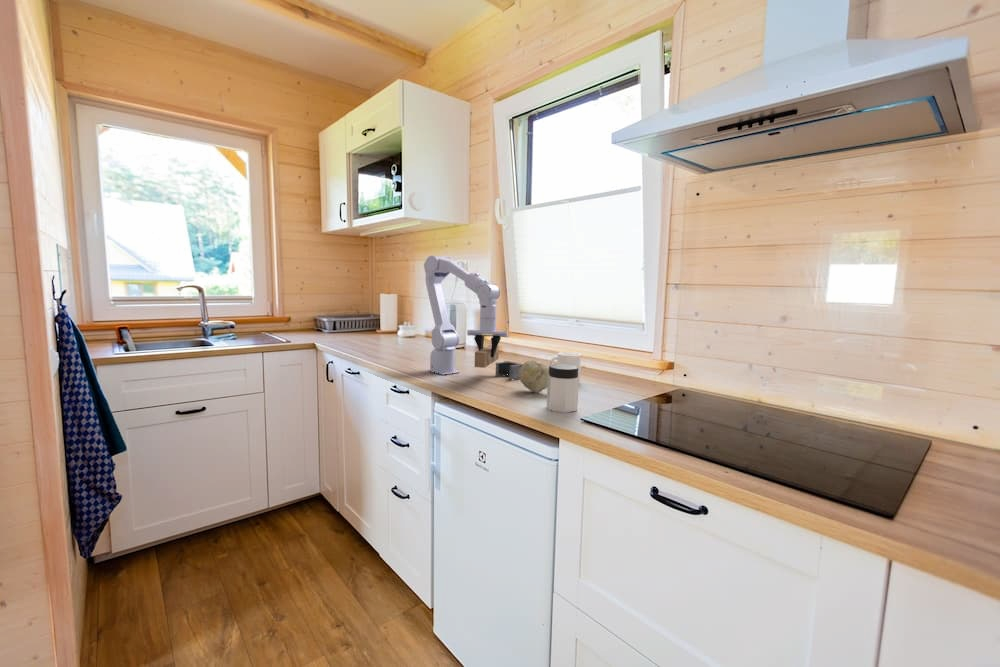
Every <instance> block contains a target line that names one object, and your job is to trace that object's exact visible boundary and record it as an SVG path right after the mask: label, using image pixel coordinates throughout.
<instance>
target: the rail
mask: <svg viewBox="0 0 1000 667" xmlns="http://www.w3.org/2000/svg"><path fill="white" fill-rule="evenodd" d="M491 351H492V344H491V345H487V346H485V347H483V349H481V350H479V349H478V350H476V351H475V352H474V368H480V369H481V368H484V369H486V367H488V366H489V365H491V364H493V363H494V362H496V361H498V360H499V352H500V347H499V345H497V348H496V351H495V356H494V357H491Z"/></svg>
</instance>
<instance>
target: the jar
mask: <svg viewBox="0 0 1000 667" xmlns="http://www.w3.org/2000/svg"><path fill="white" fill-rule="evenodd" d="M579 384H580V381H579V378H578V367H577V366H573V365H567V364H557V363H555V364H554V363H553V365H550V364H549V374H548V387H547V388H546V389H547V391H546V392H547V395H546V407H547V409H548V410H549V411H550V410H552V411H551V412H555V411H558V412H557V413H561V412H564V413H563V414H566V412H568V413H573V412H572V411H574V412H577V411H578V403H579V402H578V401H579V386H580V385H579Z"/></svg>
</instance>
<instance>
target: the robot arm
mask: <svg viewBox="0 0 1000 667" xmlns="http://www.w3.org/2000/svg"><path fill="white" fill-rule="evenodd" d="M423 268H424V273H425V285H426V291H427V294H428V299H429V303H430V307H431V313H432V317H433V321H434V324H435V326H434V327H433V328H432V329H431V332H430V333H431V345H432V347H433V349H432V350H431V352H430V355H429V356H430V362H429V363H430V365H429V366H430V367H429V369H428V372H430V371H431V372H430V373H434V372H435V374H438V373H439V374H438V375H443V376H444V375H445V374H447V375H451V374H452V373H453V374H458V372H459V373H460V371H459V370H457V369H456V370H455V368H456V367H455V366H456V364H455V362H456V358H455V357H456V349H457V346H459V344H460V336H459V333H458V332H457V331H456V327H455V326H454V325H453V324H451V322H450V318H449V315H448V309H447V307H446V306H447V305H446V301H445V296H444V293H443V292H444V291H443V288H442V282H443V281H444V280H445V279H446V278H447V277H448V276H449V275H450V274H452V275H454V276H455V277H457V278H458V279H460V280H462V281H463V282H464V286H465V287H466V288H468V289H469V290H471V291H472V292H473V293H474V294H476V295H477V298H478V301H479V302H478V303H479V306H480V307H479V308H480V309H479V329H468V330H467V331H466V333H467V334H466V336H469V337H470V336H471V337H472V336H473V337H474V339H473V340H474V341H475V343H476V345H477V348H478V351H479V350H481V349H483V348H484V342H485V337H490V341H491V345H492V351H491V357H494V356H495V351H496V348H497V346H499V343H500V341H501V339H502V338H509V331H505V330H497V306H498V304H497V303H498V302H497V300H498V299H499V298H500V295H501V291H500V290H501V289H500V288H499V286H498V285H497V284H496V283H490V281H489V280H488V279H484V278H482V277H481V276H480V274H479V273H478V272H469V271H467V270H466V269H465V268H464V267H462V266H461V265H459V264H458V263H457V262H456V261H455V260H454V259H452V258H451V257H450V256H449V257H448V256H446V257H445V256H436V255H429V256H428V257H427V258H426V260H425V261H424V263H423ZM445 376H446V375H445Z"/></svg>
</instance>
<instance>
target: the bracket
mask: <svg viewBox="0 0 1000 667" xmlns="http://www.w3.org/2000/svg"><path fill="white" fill-rule="evenodd" d="M523 364H524V363H521V362H515V361H512V360H511V361H510V360H505V361H500V362H495V377H497V376H501V377H504V376H503V375H506V376H509V377H508V379H509V380H510V379H515V380H518V379H517V378H519V370H520V368H521V366H522V365H523ZM507 374H508V375H507Z"/></svg>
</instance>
